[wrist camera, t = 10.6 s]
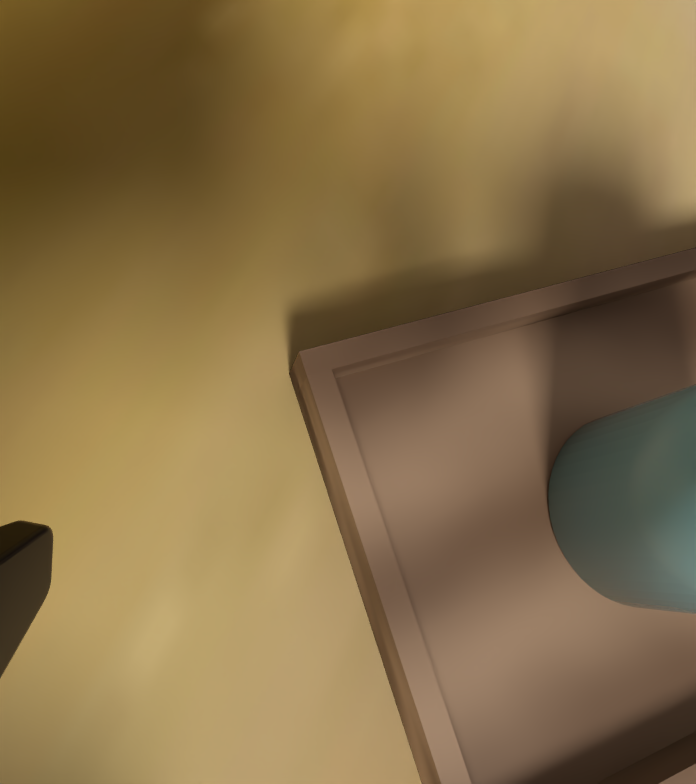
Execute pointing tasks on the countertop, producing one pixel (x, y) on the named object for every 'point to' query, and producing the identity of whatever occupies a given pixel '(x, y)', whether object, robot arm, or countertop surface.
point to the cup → (632, 503)
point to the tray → (507, 528)
